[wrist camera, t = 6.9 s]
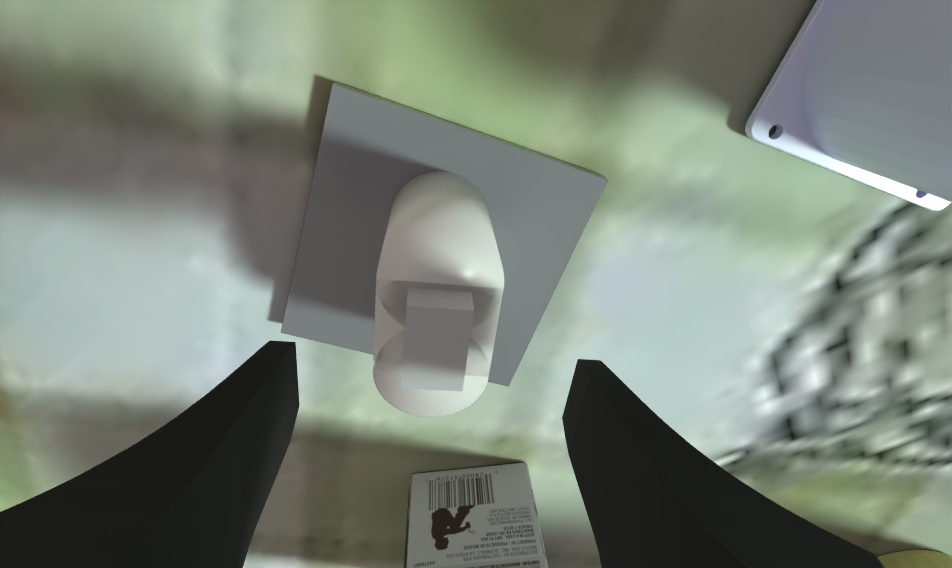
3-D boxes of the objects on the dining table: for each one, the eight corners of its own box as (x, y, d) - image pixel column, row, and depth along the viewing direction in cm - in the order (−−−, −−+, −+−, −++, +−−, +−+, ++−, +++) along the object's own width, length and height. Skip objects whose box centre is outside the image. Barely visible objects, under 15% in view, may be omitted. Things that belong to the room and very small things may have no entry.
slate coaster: (603, 175, 19) (607, 179, 18) (506, 377, 23) (508, 386, 22) (335, 81, 17) (332, 83, 16) (284, 324, 21) (280, 332, 20)
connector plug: (494, 176, 18) (518, 245, 13) (472, 334, 21) (483, 442, 16) (392, 166, 17) (374, 232, 12) (385, 329, 21) (367, 437, 15)
